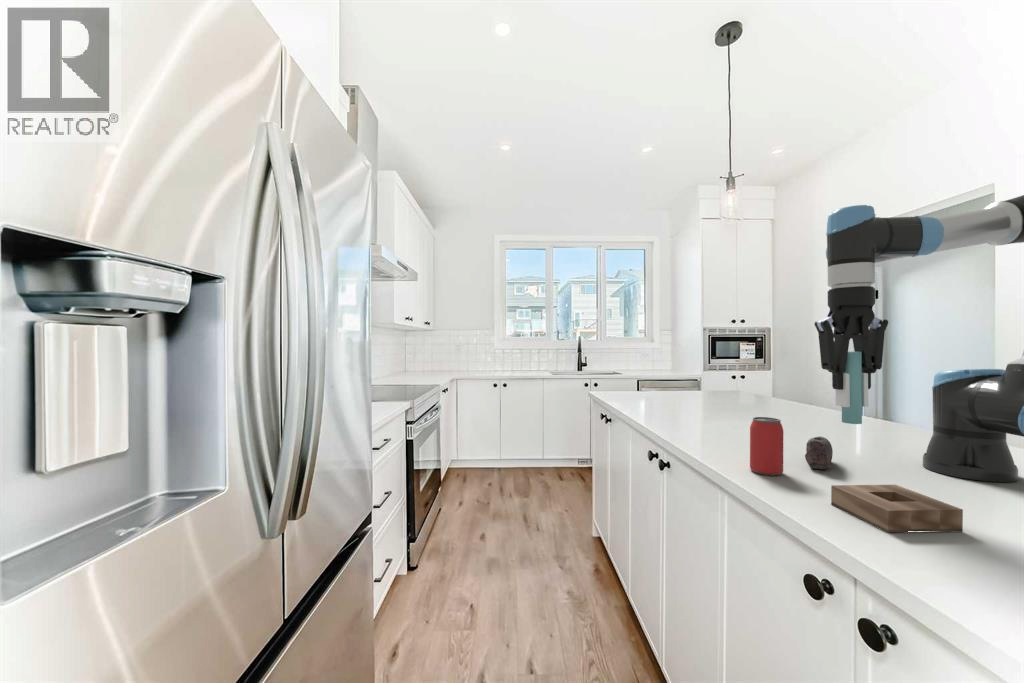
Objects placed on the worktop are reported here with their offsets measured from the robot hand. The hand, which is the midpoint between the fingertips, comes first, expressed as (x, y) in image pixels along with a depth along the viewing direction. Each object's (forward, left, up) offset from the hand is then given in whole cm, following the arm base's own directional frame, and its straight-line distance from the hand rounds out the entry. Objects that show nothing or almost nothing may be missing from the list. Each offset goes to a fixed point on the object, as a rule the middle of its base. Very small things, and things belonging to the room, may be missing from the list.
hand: (851, 405), depth 90 cm
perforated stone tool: (-7, -18, -17) cm, 26 cm away
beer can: (+9, -13, -17) cm, 23 cm away
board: (+3, +13, -17) cm, 22 cm away
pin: (0, 0, -3) cm, 3 cm away
